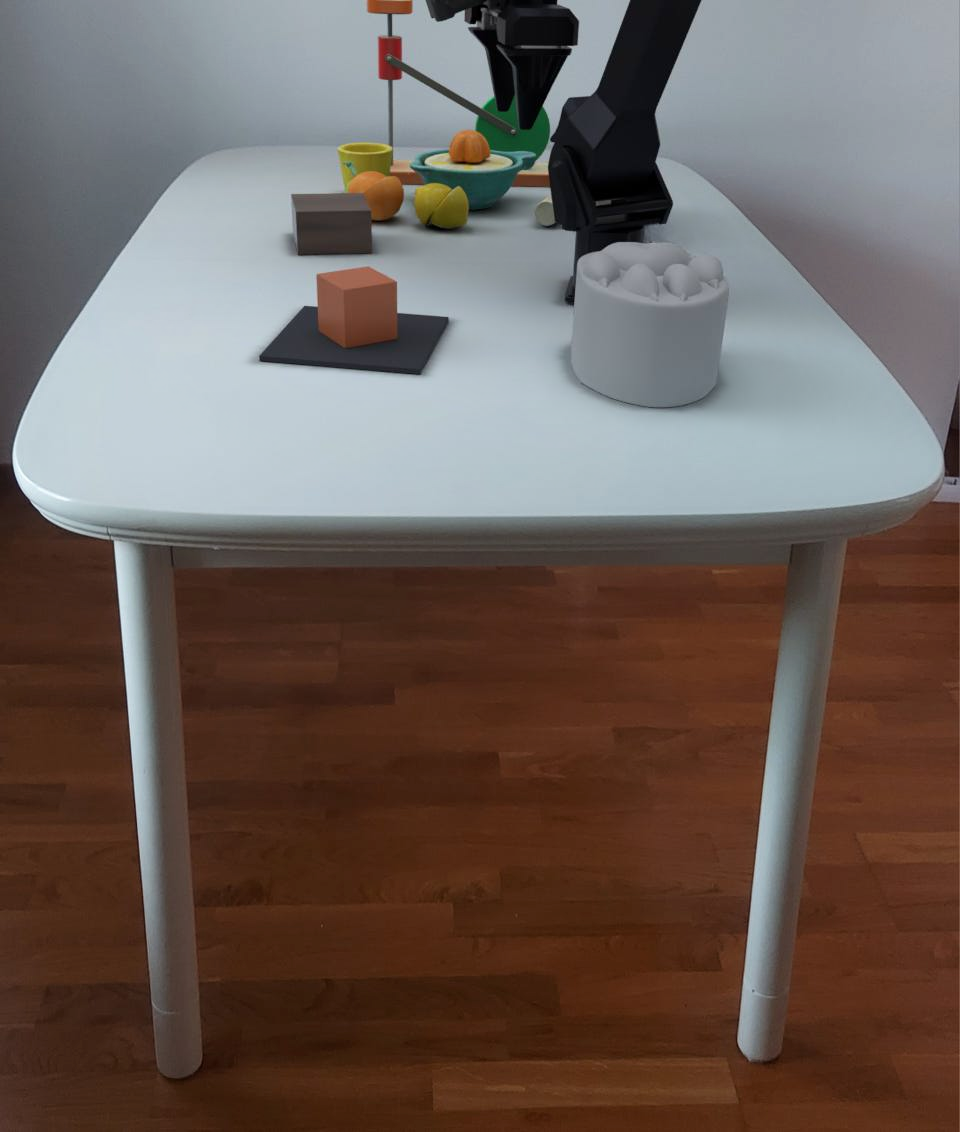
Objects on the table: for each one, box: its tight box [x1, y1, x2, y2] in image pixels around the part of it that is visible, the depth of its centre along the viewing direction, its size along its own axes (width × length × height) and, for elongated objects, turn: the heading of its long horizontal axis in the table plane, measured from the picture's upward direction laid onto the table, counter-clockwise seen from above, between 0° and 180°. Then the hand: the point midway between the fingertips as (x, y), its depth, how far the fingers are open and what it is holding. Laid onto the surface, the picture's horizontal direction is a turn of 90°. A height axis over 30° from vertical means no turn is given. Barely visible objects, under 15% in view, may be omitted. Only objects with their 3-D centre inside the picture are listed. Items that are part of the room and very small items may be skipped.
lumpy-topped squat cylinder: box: [570, 242, 730, 408], centre depth 84 cm, size 10×13×9 cm
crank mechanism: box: [365, 0, 551, 188], centre depth 135 cm, size 25×7×19 cm, turn 93°
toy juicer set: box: [337, 129, 556, 230], centre depth 124 cm, size 29×18×8 cm, turn 93°
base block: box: [290, 192, 373, 256], centre depth 113 cm, size 7×7×4 cm
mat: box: [258, 305, 450, 375], centre depth 90 cm, size 12×12×1 cm
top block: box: [315, 266, 398, 348], centre depth 89 cm, size 4×4×4 cm
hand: (513, 120), depth 107 cm, fingers open, 9 cm apart
